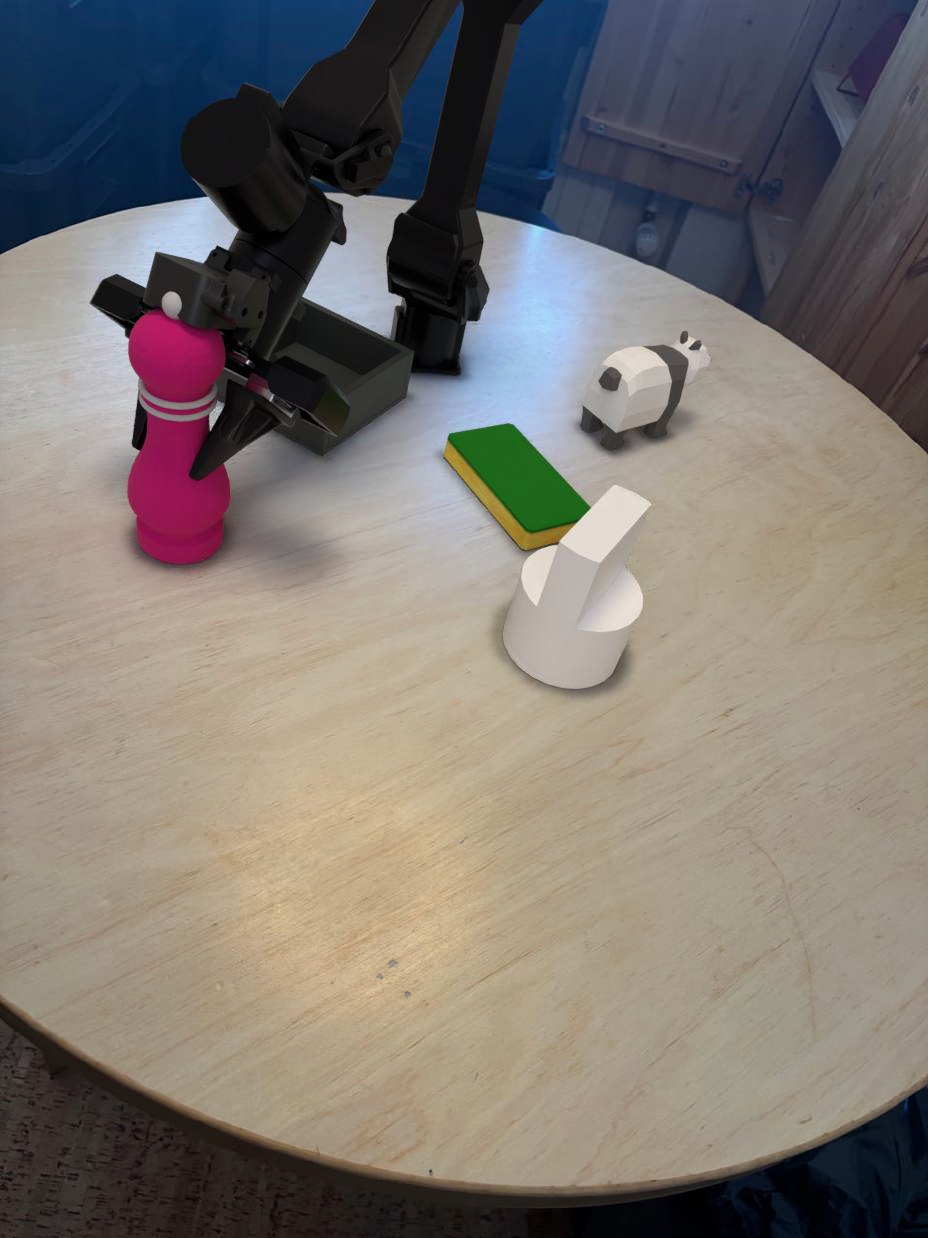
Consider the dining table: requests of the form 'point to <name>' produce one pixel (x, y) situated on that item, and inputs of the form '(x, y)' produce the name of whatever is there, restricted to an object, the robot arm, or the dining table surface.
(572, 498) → the dish sponge
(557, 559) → the base with upright slab
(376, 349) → the open rectangular box
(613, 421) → the giant panda
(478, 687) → the dining table surface
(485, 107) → the robot arm
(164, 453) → the pepper mill
